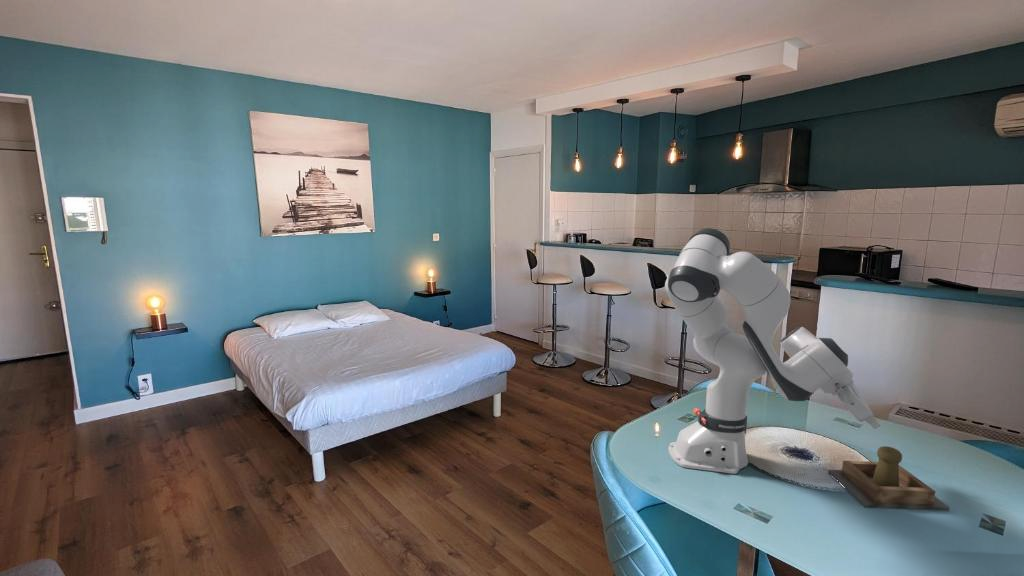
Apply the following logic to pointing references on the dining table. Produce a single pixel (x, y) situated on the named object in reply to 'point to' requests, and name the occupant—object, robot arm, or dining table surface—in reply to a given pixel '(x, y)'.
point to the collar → (886, 488)
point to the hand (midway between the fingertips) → (872, 419)
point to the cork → (887, 467)
